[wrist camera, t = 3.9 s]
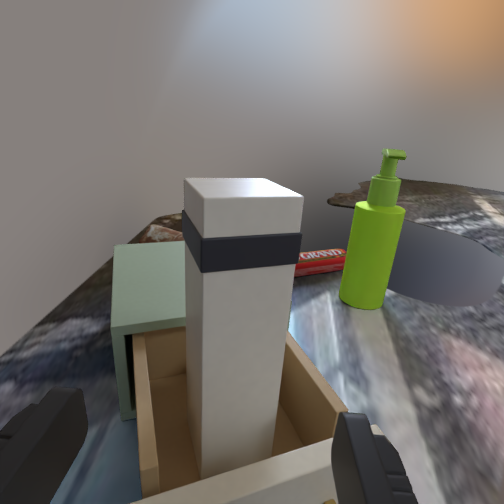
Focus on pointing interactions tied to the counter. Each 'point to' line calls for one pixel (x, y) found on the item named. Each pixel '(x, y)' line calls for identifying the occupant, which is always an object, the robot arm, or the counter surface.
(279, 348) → the white tall square block
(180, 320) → the cabinet
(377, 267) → the soap dispenser
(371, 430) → the robot arm
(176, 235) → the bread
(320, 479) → the drawer
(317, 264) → the candy bar
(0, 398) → the counter surface
